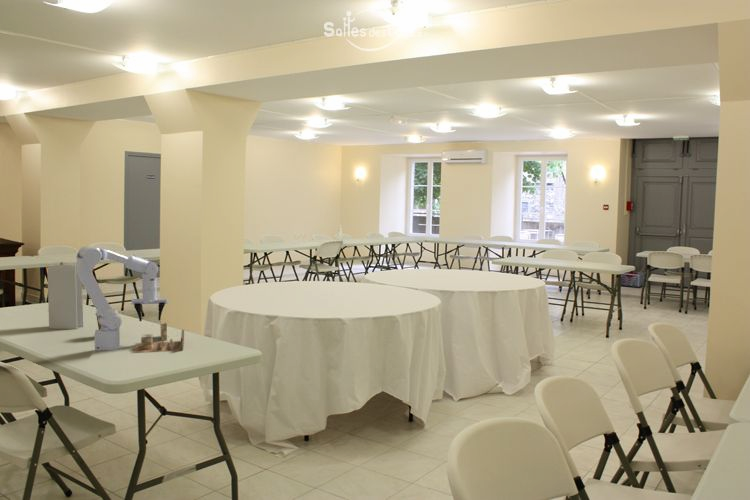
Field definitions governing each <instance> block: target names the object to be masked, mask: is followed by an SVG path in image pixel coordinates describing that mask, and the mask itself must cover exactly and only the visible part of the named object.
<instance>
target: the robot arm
mask: <svg viewBox="0 0 750 500" xmlns="http://www.w3.org/2000/svg"><path fill="white" fill-rule="evenodd" d="M75 257H76V265H77V270H76V272H77V275H78V277H79V278H80V280H81V282H82V287H84V290H85V292H86V293H87V295H88V296H89V299H90V300H91V302H92V304H93V306H94V307H95V309H96V311H97V315H98V322H99V324H100V325H101V328H100V330H99V329H95V331H94V351H114V350H118V349H120V348H121V346H120V345H121V344H120V343H121V341H120V339H121V338H120V327H121V326H122V322H123V321H122V318H121V316H120V315H117V314H116V313H115V311H114V310H113V309H114V308H112V307H111V306H110V304H109V302H108V299H107V298H106V296H105V295H104V293H103V291H102V289H101V287H100V285H99V283H98V282H97V279H96V278H95V276H94V274H93V271H94V269H95V268H96V266H97V265H98V264H99V263H100V262H101V261H106V260H110V261H113V262H117V263H119V264H123V265H124V267H125V268H126V269H129V270H132V271H135V272H138V273H141V277H142V280H141V282H142V283H141V284H142V286H141V287H142V288H141V289H142V298H137V299H131V305H133V307H134V309H135V311H136V313H137V316H138V319H139V320H138V321H139V322H142V318H143V317H142V305H153V304H155V305H157V304H158V305H157V307H158V318H157V320H158V321H159V322H160V320H161V317H162V313H163V310H164V308H165V305H166V304H168V303H169V302H168V301H169V300H168V298H158V297H157V292H158V291H157V286H158V285H157V274H158V272H159V269H160V267H158V264H157V263H156V262H155V261H149V260H148V259H147V258H142V257H139V256H138V255H137V254H130V255H127V256H125V255H123V254H119V253H116V252H114V251H111V250H108V249H104V248H98V247H91V246H89V245H86V246H83V247H81V248H80V249H79V250H78V252H77V254H76V256H75ZM98 322H97V323H98Z"/></svg>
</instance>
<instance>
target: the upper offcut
mask: <svg viewBox="0 0 750 500" xmlns="http://www.w3.org/2000/svg"><path fill="white" fill-rule="evenodd" d="M153 338H154V336H153V334H150V333H149V334H146V333H145V334H142V335H141V338H140V341H141V342H140V343H152V340H153V341H154V339H153Z"/></svg>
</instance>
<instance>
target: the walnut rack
mask: <svg viewBox="0 0 750 500" xmlns="http://www.w3.org/2000/svg"><path fill="white" fill-rule="evenodd" d="M184 345H185V329H181V334H180V340H179V341H178V340H177V341H176V340H175V341H174V340H173V338H170V339H169V341H164V339H163V340H162V339H161V341H156V342H155V341H153V346H152V349H142V350H141V342H135V343H134V345H133V347H132V350H130V351H131V352H130V354H142V353H145V354H146V353H162V352H163V353H165V352H183V351H184V347H185V346H184Z"/></svg>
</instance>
